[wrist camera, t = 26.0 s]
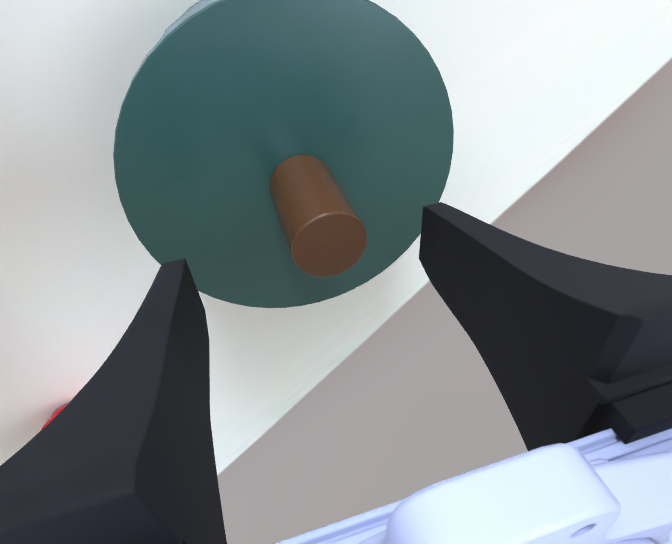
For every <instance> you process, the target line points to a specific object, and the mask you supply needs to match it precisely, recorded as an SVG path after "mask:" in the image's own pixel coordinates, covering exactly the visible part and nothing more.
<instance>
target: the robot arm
mask: <svg viewBox="0 0 672 544" xmlns="http://www.w3.org/2000/svg"><path fill="white" fill-rule="evenodd" d="M419 259H420V261H421V263H422V266H423V268H424V270H425V272H426V274H427V275H428V277H429V279H430V281H431V283H432V285H433V286H434V287H435V289H436V290H437V292H438V293H439V295H440V296H441V297H442V299H443V300H444V302H445V303H446V305H447V306H448V307H449V309H450V310H451V311H452V313H453V314H454V316H455V317H456V318H457V320H458V321H459V323H460V324H461V325H462V327H463V328H464V330H465V331H466V332H467V334H468V335H469V337H470V338H471V340H472V341H473V343H474V344H475V346H476V348H477V349H478V351H479V353H480V355H481V356H482V358H483V360H484V362H485V364H486V366H487V367H488V369H489V371H490V373H491V375H492V377H493V379H494V380H495V382H496V384H497V386H498V388H499V390H500V392H501V394H502V396H503V398H504V400H505V402H506V404H507V406H508V408H509V410H510V412H511V414H512V417H513V419H514V421H515V423H516V425H517V427H518V429H519V431H520V433H521V436H522V438H523V440H524V443H525V445H526V447H527V450H528V452H525V453H522V454H519V455H516V456H513V457H510V458H507V459H504V460H501V461H499V462H496V463H493V464H490V465H487V466H484V467H481V468H478V469H475V470H472V471H469V472H466V473H463V474H460V475H457V476H454V477H451V478H449V479H446V480H443V481H440V482H437V483H435V484H432V485H430V486H428V487H426V488H424V489H421V490H419V491H417V492H415V493H413V494H412V495H410V496H409V497H408V498H406V499H403V500H400V501H397V502H394V503H391V504H388V505H385V506H383V507H380V508H377V509H374V510H371V511H368V512H365V513H362V514H359V515H356V516H353V517H351V518H348V519H345V520H342V521H339V522H336V523H333V524H330V525H327V526H324V527H321V528H319V529H316V530H313V531H310V532H307V533H304V534H301V535H298V536H295V537H292V538H289V539H287V540H284V541H281V542H278V543H275V544H672V275H664V274H656V273H649V272H643V271H637V270H632V269H626V268H620V267H615V266H611V265H606V264H601V263H598V262H593V261H589V260H585V259H581V258H578V257H574V256H570V255H567V254H564V253H561V252H558V251H554V250H551V249H548V248H545V247H542V246H540V245H537V244H534V243H531V242H529V241H526V240H524V239H521V238H519V237H517V236H514V235H512V234H509V233H507V232H505V231H502V230H500V229H498V228H496V227H494V226H492V225H489V224H487V223H485V222H483V221H481V220H479V219H477V218H475V217H473V216H471V215H468V214H466V213H464V212H462V211H460V210H458V209H456V208H454V207H451V206H449V205H447V204H444V203H442V202H440V203H436V204H431V205H427V206H423V213H422V226H421V238H420V251H419ZM0 544H227V541H226V535H225V529H224V523H223V515H222V508H221V501H220V494H219V488H218V480H217V472H216V464H215V456H214V448H213V439H212V431H211V422H210V378H209V335H208V328H207V321H206V314H205V309H204V306H203V304H202V301H201V298H200V296H199V293H198V290H197V288H196V285H195V282H194V280H193V277H192V274H191V272H190V269H189V266H188V264H187V261H186V258H185V259H180V260H175V261H171V262H166V263H163V264H162V266H161V267H160V269H159V271H158V273H157V275H156V277H155V280H154V282H153V284H152V286H151V288H150V290H149V292H148V294H147V295H146V297H145V299H144V301H143V303H142V305H141V306H140V308H139V310H138V312H137V314H136V316H135V317H134V319H133V321H132V322H131V324H130V325H129V327H128V329H127V330H126V332H125V333H124V335H123V336H122V338H121V340H120V341H119V343H118V344H117V346H116V347H115V348H114V350H113V351H112V353H111V354H110V355H109V357H108V358H107V360H106V361H105V362H104V363H103V365H102V366H101V367H100V369H99V370H98V371H97V372H96V374H95V375H94V376H93V377H92V378H91V379H90V380H89V382H88V383H87V384H86V385H85V386H84V387H83V388H82V389H81V390H80V392H79V393H78V394H77V395H76V396H75V397H74V398H73V399H72V400H71V402H70V403H69V404H68V405H67V406H66V407H65V408H64V409H63V410H62V411H61V412H60V413H59V414H58V415H57V416H56V417H55V418H54V419H53V420H52V421H51V422H50V423H49V424H48V425H47V426H45V427H44V428H43V429H42V430H41V431H40V432H39V433H38V434H37V435H36V436H35V437H34V438H33V439H31V440H30V441H29V442H28V443H27V444H26V445H25V446H24V447H22V448H21V449H20V450H19V451H18V452H16V453H15V454H14V455H13V456H12V457H11V458H9V459H8V460H7V461H6V462H5V463H3V464H2V465H1V466H0Z"/></svg>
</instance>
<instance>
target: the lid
mask: <svg viewBox="0 0 672 544" xmlns="http://www.w3.org/2000/svg"><path fill="white" fill-rule="evenodd" d="M453 132H454V131H453V120H452V110H451V106H450V102H449V98H448V93H447V90H446V87H445V84H444V82H443V79H442V77H441V74H440V72H439V70H438V68H437V66H436V64H435V63H434V61H433V59H432V57H431V56H430V54H429V52H428V51H427V49H426V48H425V47H424V46H423V44H422V43H421V42H420V40H419V39H418V38H417V37H416V35H415V34H414V33H413V32H412V31H411V30H410V29H409V28H407V27H406V26H405V25H404V24H403V23H402V22H401V21H400V20H399V19H398V18H397V17H395V16H394V15H392V14H391V13H389V12H388V11H386V10H385V9H383V8H382V7H380V6H379V5H377V4H375V3H373V2H371V1H369V0H212V1H210V2H209V3H207V4H205V5H204V6H202V7H200V8H199V9H197V10H195V11H194V12H192V13H190V14H188V15H187V16H186V17H185V18H184V19H182V20H181V21H180V22H179V23H178V24H176V25H175V26H174V27H173V28H172V29H170V30H169V31H168V32H167V33H166V34H165V35H164V36H163V37H162V38H161V39H160V41H159V42H158V43H157V44H156V45H155V46H154V47H153V49H152V50H151V51H150V52H149V53H148V54H147V56H146V57H145V59H144V61H143V62H142V64H141V65H140V67H139V69H138V70H137V72H136V73H135V75H134V77H133V79H132V81H131V83H130V86H129V88H128V91H127V93H126V95H125V98H124V100H123V103H122V106H121V110H120V114H119V118H118V122H117V126H116V131H115V143H114V154H113V156H114V169H115V180H116V184H117V189H118V193H119V197H120V201H121V204H122V206H123V209H124V211H125V214H126V216H127V219H128V221H129V223H130V225H131V227H132V228H133V230H134V232H135V234H136V235H137V237H138V239H139V240H140V241H141V243H142V244H143V245H144V247H145V248H146V249H147V250H148V252H149V253H150V254H151V256H152V257H153V258H154V259H155V260H157V261H158V262H159V263H160V264H161V265H162V264H163V263H166V262H171V261H175V260H180V259H185V258H186V261H187V264H188V266H189V269H190V272H191V274H192V277H193V280H194V282H195V285H196V288H197V290H198V291H200V292H202V293H204V294H207V295H209V296H211V297H214V298H217V299H220V300H223V301H227V302H230V303H234V304H239V305H245V306H250V307H263V308H285V307H294V306H302V305H307V304H312V303H316V302H320V301H324V300H327V299H330V298H333V297H336V296H338V295H341V294H343V293H346V292H348V291H350V290H352V289H354V288H356V287H358V286H360V285H362V284H364V283H366V282H367V281H369V280H370V279H372V278H373V277H375V276H376V275H378V274H379V273H381V272H382V271H383V270H385V269H386V268H387V267H388V266H390V265H391V264H392V263H393V262H395V261H396V260H397V259H398V258H399V257H400V256H401V255H402V254H403V253H404V252H405V251H406V250H407V249H408V248H409V247H410V245H411V244H412V243H413V242H414V241H415V240H416V238H417V237H418V236H419V235H420V233H421V226H422V213H423V206H427V205H431V204H436V203H439V200H440V198H441V195H442V193H443V191H444V188H445V185H446V181H447V178H448V174H449V171H450V165H451V159H452V153H453Z"/></svg>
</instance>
